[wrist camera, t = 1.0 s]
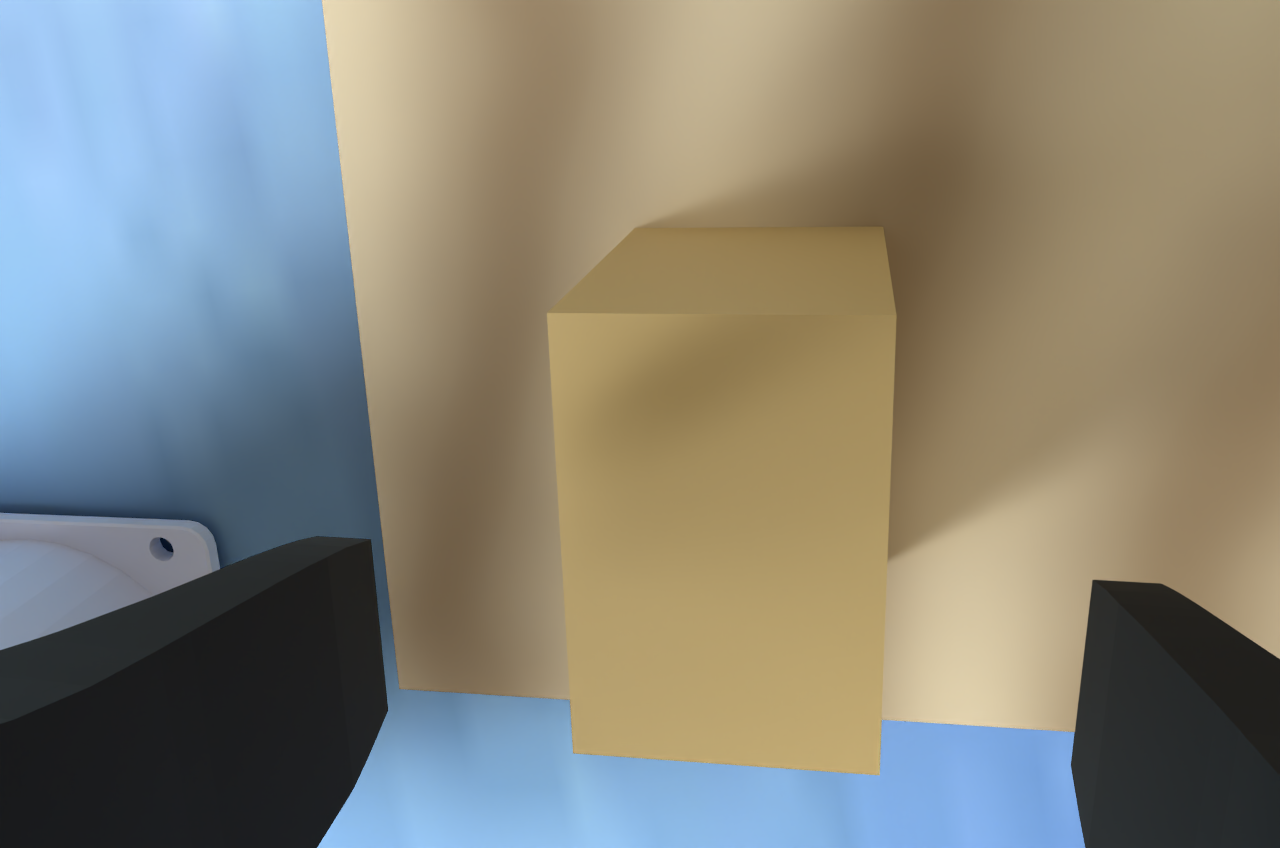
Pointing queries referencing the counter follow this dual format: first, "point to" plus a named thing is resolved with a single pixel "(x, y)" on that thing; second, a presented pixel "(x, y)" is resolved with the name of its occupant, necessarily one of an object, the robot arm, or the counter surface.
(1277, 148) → the shelf board
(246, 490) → the counter surface
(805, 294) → the carton
